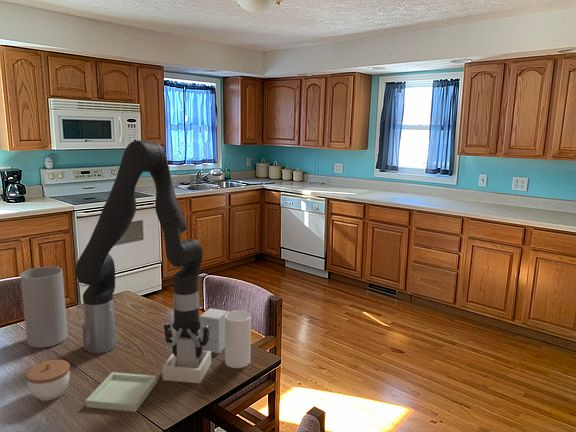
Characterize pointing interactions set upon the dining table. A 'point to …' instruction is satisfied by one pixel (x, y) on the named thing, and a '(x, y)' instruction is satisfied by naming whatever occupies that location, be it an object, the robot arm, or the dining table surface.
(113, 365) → the dining table surface
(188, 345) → the beverage can
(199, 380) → the holder
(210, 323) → the supplement box
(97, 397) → the tray
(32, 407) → the dining table surface
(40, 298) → the cylinder vase
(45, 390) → the lidded jar
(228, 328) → the cup
